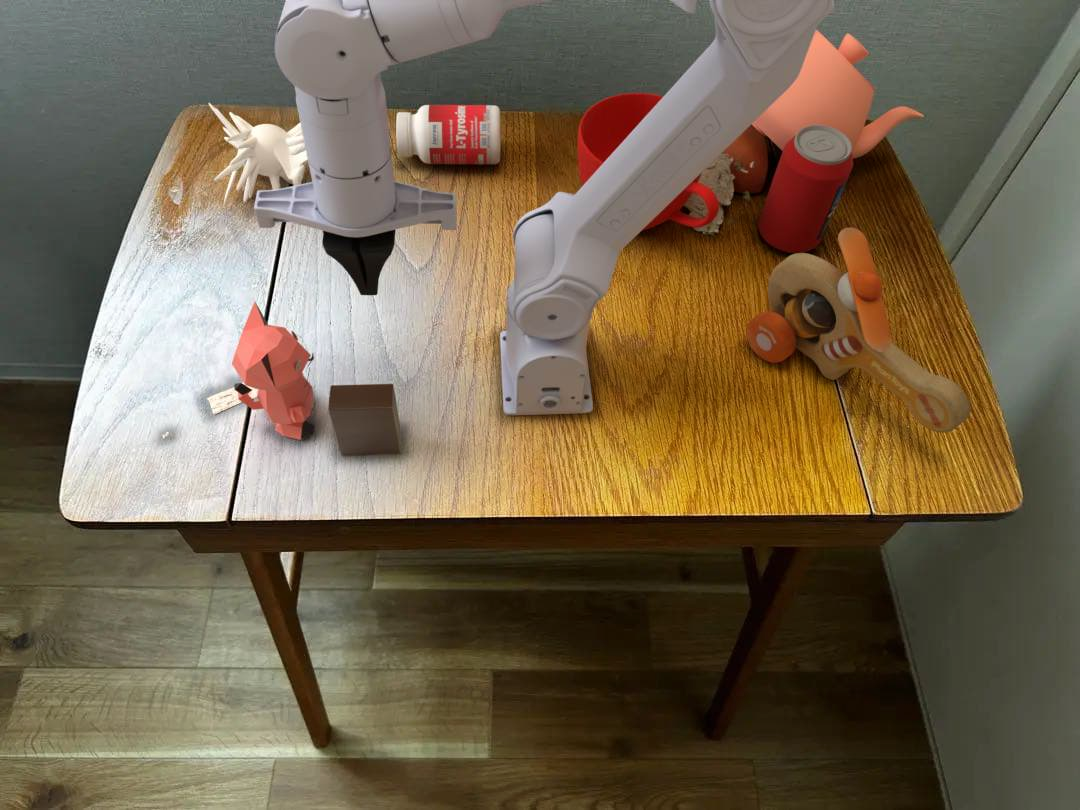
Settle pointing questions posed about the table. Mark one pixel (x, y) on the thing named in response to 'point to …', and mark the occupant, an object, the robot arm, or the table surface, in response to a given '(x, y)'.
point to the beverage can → (806, 188)
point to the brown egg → (748, 161)
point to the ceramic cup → (610, 129)
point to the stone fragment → (716, 192)
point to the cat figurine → (275, 375)
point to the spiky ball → (263, 154)
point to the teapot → (830, 99)
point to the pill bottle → (450, 134)
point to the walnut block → (365, 419)
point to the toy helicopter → (849, 330)
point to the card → (226, 400)
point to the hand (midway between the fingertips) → (369, 286)
